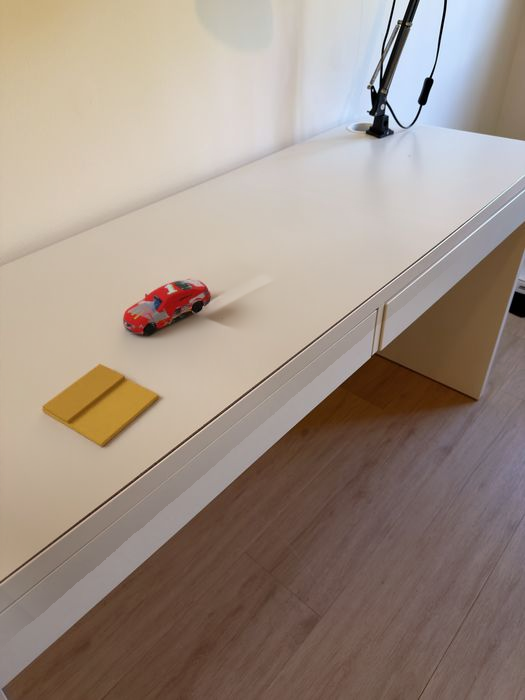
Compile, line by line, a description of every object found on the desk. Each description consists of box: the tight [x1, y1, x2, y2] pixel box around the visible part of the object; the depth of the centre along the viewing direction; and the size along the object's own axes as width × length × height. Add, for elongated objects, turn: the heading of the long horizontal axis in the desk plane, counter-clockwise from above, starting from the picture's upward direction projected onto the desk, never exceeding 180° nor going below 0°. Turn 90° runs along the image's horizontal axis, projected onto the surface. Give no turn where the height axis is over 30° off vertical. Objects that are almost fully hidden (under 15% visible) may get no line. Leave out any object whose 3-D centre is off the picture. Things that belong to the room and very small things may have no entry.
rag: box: [41, 363, 160, 448], centre depth 61 cm, size 9×10×1 cm
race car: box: [122, 278, 212, 336], centre depth 74 cm, size 13×5×4 cm, turn 128°
